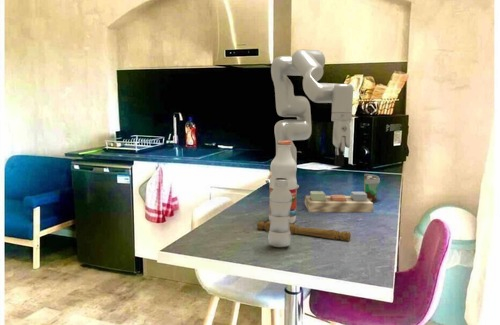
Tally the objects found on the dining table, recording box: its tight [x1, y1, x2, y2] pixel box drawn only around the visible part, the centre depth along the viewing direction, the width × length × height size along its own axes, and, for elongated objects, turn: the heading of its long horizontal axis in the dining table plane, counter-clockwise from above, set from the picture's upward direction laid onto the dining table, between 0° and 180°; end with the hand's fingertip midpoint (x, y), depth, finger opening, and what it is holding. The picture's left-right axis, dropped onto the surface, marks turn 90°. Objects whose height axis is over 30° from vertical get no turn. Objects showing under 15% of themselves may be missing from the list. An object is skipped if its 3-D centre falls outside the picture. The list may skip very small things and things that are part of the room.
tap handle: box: [256, 220, 352, 242], centre depth 143 cm, size 3×3×30 cm
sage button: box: [309, 190, 326, 201], centre depth 175 cm, size 5×5×4 cm
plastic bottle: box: [267, 178, 292, 248], centre depth 131 cm, size 6×7×20 cm
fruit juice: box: [268, 140, 298, 224], centre depth 156 cm, size 9×9×28 cm
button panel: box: [304, 195, 374, 214], centre depth 176 cm, size 24×12×4 cm, turn 91°
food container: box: [363, 173, 381, 203], centre depth 189 cm, size 12×6×10 cm, turn 168°
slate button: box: [350, 191, 367, 201], centre depth 176 cm, size 5×5×4 cm
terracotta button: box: [330, 194, 346, 201], centre depth 176 cm, size 5×5×4 cm
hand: (339, 165), depth 174 cm, fingers closed
